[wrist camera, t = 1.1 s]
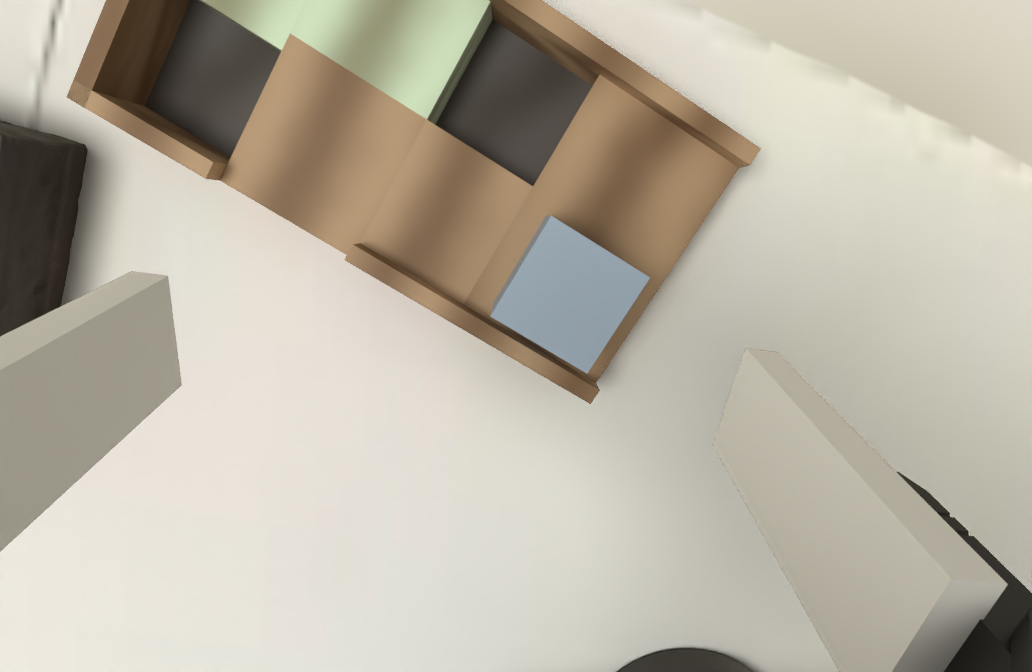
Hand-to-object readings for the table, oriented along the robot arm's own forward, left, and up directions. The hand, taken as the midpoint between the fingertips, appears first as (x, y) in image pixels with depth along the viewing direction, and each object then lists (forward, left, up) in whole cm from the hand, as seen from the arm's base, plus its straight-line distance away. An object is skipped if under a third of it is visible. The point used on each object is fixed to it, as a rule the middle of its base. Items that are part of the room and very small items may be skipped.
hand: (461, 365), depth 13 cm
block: (-4, -2, -20) cm, 21 cm away
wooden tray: (+8, -5, -23) cm, 25 cm away
